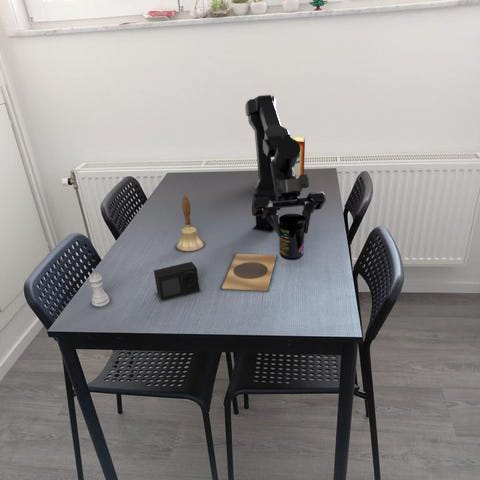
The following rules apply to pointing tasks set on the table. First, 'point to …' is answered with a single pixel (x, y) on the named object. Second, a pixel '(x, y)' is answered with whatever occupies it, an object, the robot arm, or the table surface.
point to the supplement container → (292, 236)
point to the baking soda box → (300, 158)
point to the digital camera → (176, 280)
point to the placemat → (250, 272)
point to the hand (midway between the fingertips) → (293, 234)
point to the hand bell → (188, 230)
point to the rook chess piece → (98, 291)
